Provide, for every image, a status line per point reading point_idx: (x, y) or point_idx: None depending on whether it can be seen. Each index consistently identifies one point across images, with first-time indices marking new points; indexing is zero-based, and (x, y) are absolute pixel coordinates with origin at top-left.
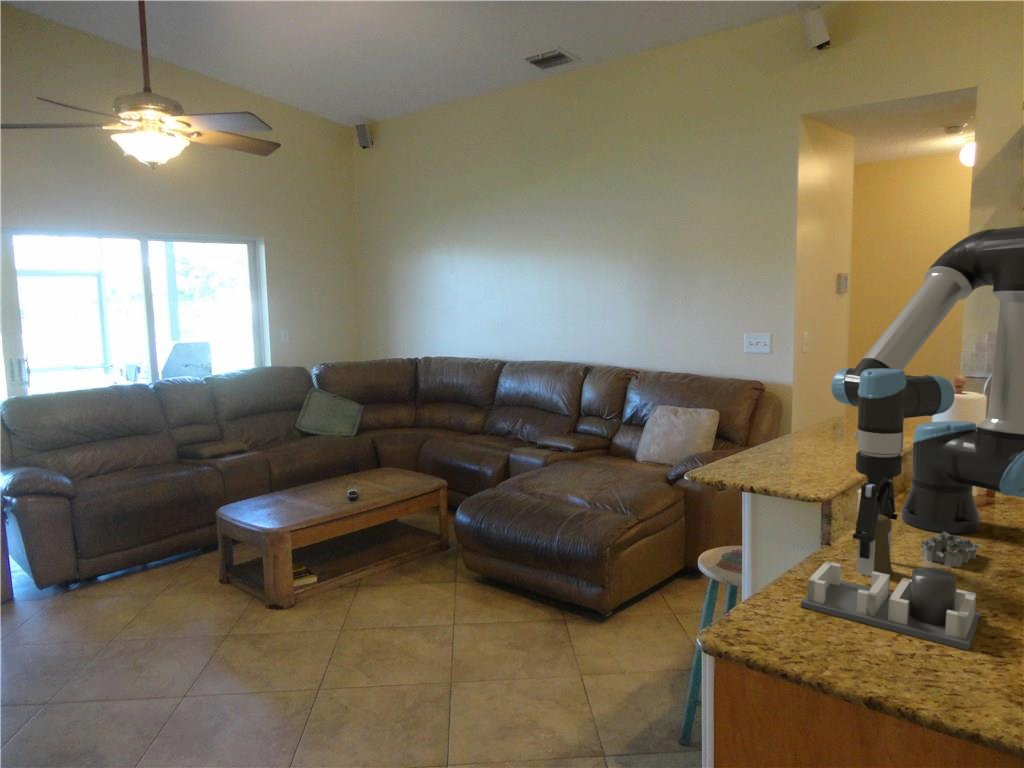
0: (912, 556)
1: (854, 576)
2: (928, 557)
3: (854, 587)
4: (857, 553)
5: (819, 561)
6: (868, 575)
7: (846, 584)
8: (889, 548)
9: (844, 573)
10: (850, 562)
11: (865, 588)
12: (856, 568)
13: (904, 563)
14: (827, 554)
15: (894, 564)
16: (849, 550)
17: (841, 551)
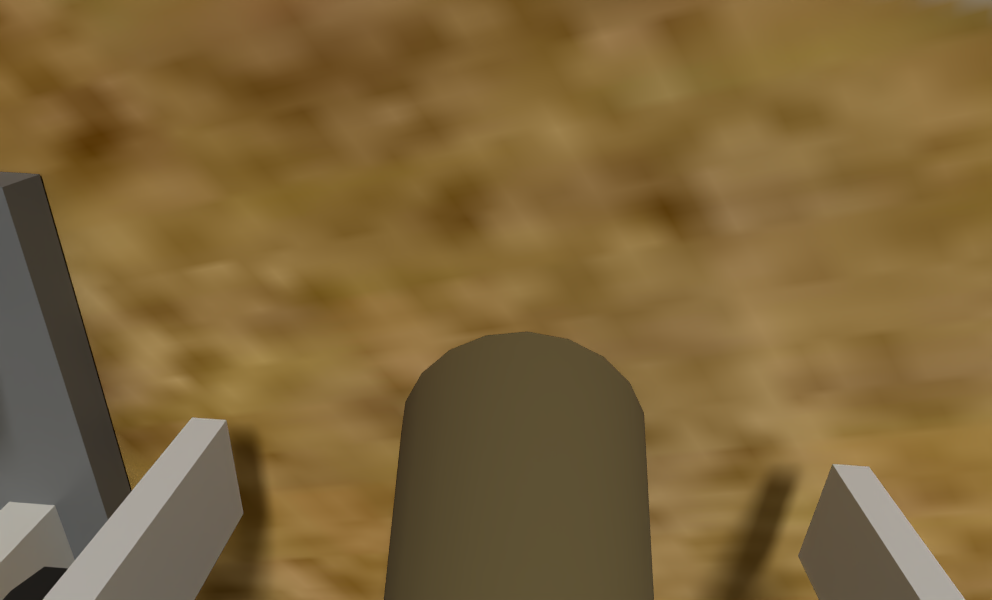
0: (967, 593)
1: (333, 346)
2: None
3: (2, 415)
4: (79, 559)
5: (510, 8)
6: (402, 424)
7: (4, 365)
8: (816, 591)
9: (344, 275)
10: (635, 271)
11: (50, 470)
12: (485, 342)
13: (792, 566)
14: (774, 32)
15: (742, 523)
16: (985, 206)
17: (928, 143)
